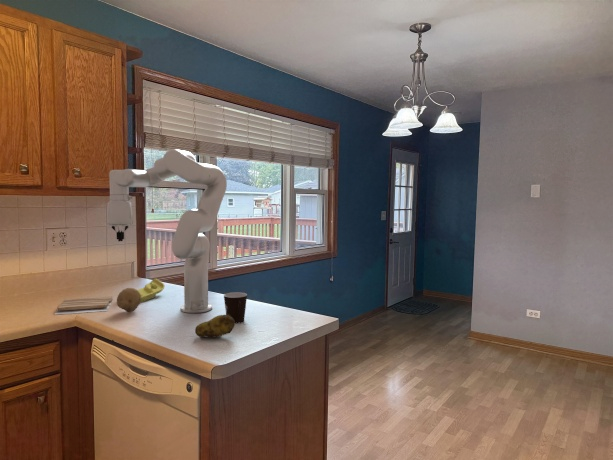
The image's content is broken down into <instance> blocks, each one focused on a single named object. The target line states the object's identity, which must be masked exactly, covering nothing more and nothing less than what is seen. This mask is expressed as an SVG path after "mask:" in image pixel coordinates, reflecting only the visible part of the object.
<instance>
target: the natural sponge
mask: <svg viewBox="0 0 613 460" xmlns="http://www.w3.org/2000/svg"><path fill="white" fill-rule="evenodd" d="M122 290H123V291H122ZM122 290H121V291H120V292H119V293H118V295H117V297H116V304H117V307H119V308H120V309H121V310H124V311H125V312H127V313H133V312H134V311H136V310H137V308H139V305H140V303H141V302H140V301H141V294H140V293H139V291H137V290H138V289H136V288H133V287H127V288H124V289H122Z"/></svg>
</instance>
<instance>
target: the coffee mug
mask: <svg viewBox="0 0 613 460" xmlns="http://www.w3.org/2000/svg"><path fill="white" fill-rule="evenodd" d="M223 299H224V308H225V315H229V316H231V317H232V318H233V319H234V321H235V325H236V324H242V323H245V318H246V317H245V315H246V308H247V299H248V294H247V293H245V292H238V291H237V292H236V291H235V292H228V293H224V294H223Z"/></svg>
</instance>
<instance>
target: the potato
mask: <svg viewBox="0 0 613 460" xmlns="http://www.w3.org/2000/svg"><path fill="white" fill-rule="evenodd" d="M235 325H236V324H235V321H234V319H233V318H232V317H231V316H229V315H226V314H219V315H217V316H214V317H213V318H211V319H209V320H208V321H204V322H201V323H199V324H197V325H196V326H195V329H194V330H195V331H194V332H195V333H194V334H195V335H196V336H198V337H200V338H213V339H214V338H220V337H222V336H224V335H229V334H231V332H232V331H233V330H234V327H235Z"/></svg>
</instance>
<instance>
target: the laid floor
mask: <svg viewBox="0 0 613 460" xmlns="http://www.w3.org/2000/svg"><path fill="white" fill-rule="evenodd" d="M102 301H109V305H108V306H107V307H106V308H92V309H77V310H63V311H58V310H56V312H55V313H54V314H53V315H54V316H55V315H57V316H59V315H70V314H71V315H72V314H73V315H75V314H86V313H87V312H88V313H100V312H99V311H102V312H108V311H109V308H110V306H111V304H112V302H113V296H99V297H96V296H95V297H84V298H82V297H81V298H67V299H63V301H62V302H61V303H60V305H61V304H71V303H87V302H102Z"/></svg>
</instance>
